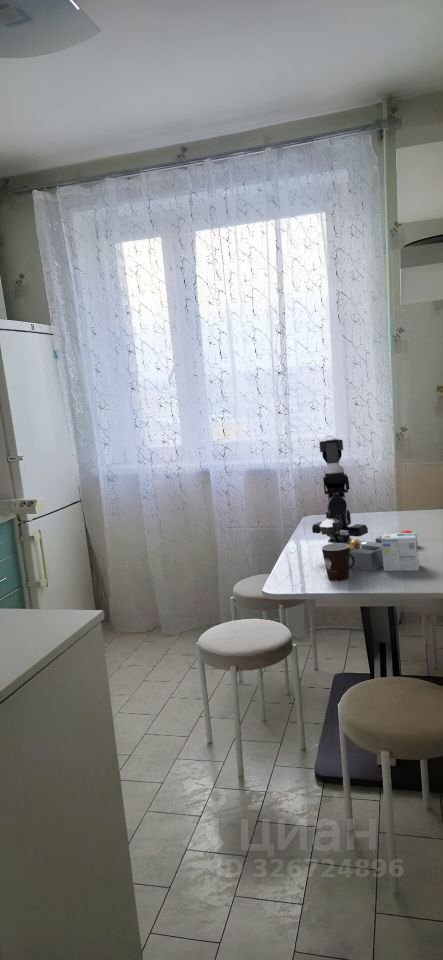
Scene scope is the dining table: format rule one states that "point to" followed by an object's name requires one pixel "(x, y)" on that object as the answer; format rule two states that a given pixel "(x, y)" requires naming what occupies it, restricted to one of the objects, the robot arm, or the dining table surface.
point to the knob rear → (356, 544)
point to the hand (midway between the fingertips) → (341, 553)
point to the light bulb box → (400, 552)
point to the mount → (368, 556)
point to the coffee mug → (337, 561)
